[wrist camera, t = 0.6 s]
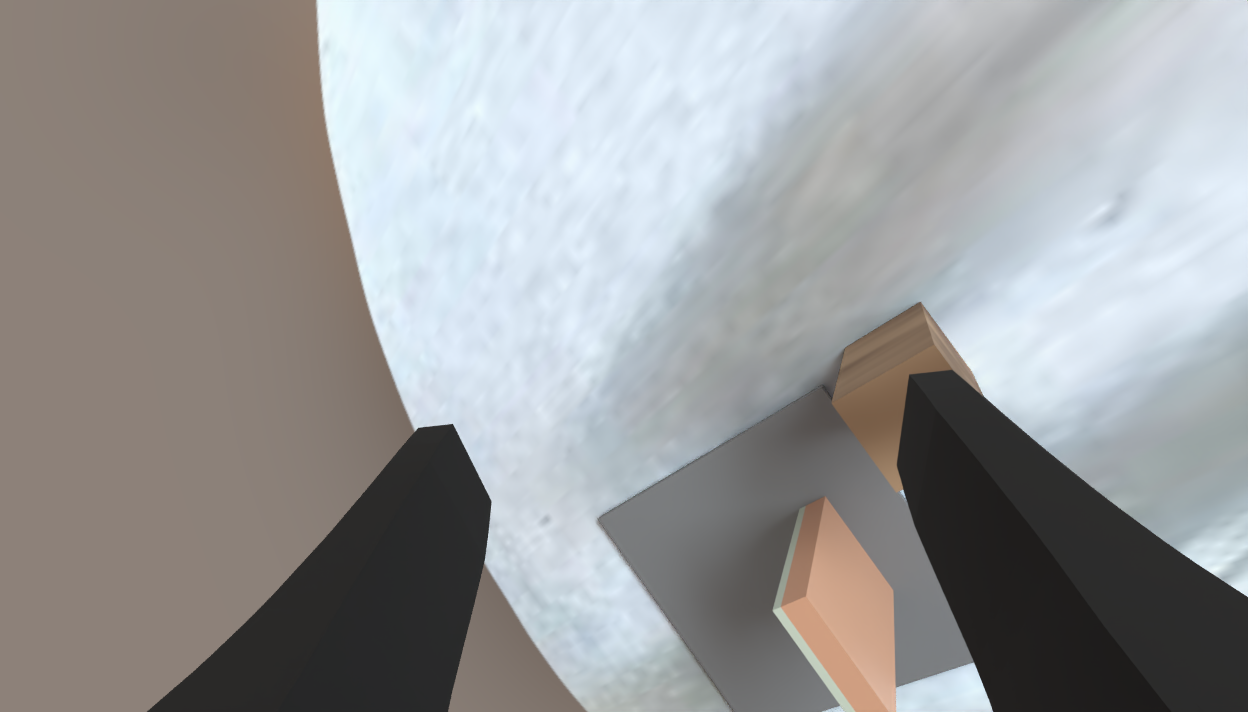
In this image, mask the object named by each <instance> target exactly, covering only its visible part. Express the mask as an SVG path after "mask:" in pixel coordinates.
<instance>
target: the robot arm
mask: <svg viewBox="0 0 1248 712" xmlns="http://www.w3.org/2000/svg"><path fill="white" fill-rule="evenodd" d="M897 469H898V472H899V476H900V479H901V483H902V486H903V490H904V493H905V496H906V500H907V503H908V506H909V510H910V513H911V516H912V519H913V522H914V526H915V528H916V531H917V533H918V535H919V538H920V540H921V542H922V545H923V547H924V549H925V552H926V554H927V556H928V559H929V561H930V563H931V565H932V568H933V570H934V572H935V575H936V577H937V579H938V582H939V584H940V586H941V588H942V591H943V593H944V595H945V597H946V600H947V602H948V604H949V607H950V609H951V611H952V613H953V616H954V618H955V620H956V622H957V625H958V627H959V629H960V632H961V634H962V636H963V638H964V641H965V643H966V645H967V647H968V650H969V652H970V654H971V657H972V659H973V661H974V663H975V666H976V668H977V670H978V673H979V676H980V678H981V681H982V683H983V686H984V688H985V691H986V693H987V696H988V698H989V701H990V704H991V707H992V710H993V712H1248V597H1247V596H1245V595H1244V594H1242V593H1241V592H1239V591H1238V590H1236V589H1234V588H1233V587H1231V586H1230V585H1228V584H1227V583H1225V582H1224V581H1222V580H1221V579H1219V578H1218V577H1216V576H1215V575H1213V574H1212V573H1210V572H1208V571H1207V570H1205V569H1204V568H1202V567H1201V566H1199V565H1198V564H1196V563H1195V562H1193V561H1192V560H1190V559H1189V558H1188V557H1186V556H1185V555H1183V554H1182V553H1180V552H1179V551H1177V550H1176V549H1174V548H1173V547H1172V546H1170V545H1169V544H1167V543H1166V542H1165V541H1163V540H1162V539H1160V538H1159V537H1158V536H1156V535H1155V534H1153V533H1152V532H1151V531H1149V530H1148V529H1147V528H1145V527H1144V526H1143V525H1141V524H1140V523H1139V522H1137V521H1136V520H1134V519H1133V518H1132V517H1130V516H1129V515H1128V514H1126V513H1125V512H1124V511H1122V510H1121V509H1120V508H1118V507H1117V506H1116V505H1114V504H1113V503H1112V502H1110V501H1109V500H1108V499H1107V498H1105V497H1104V496H1103V495H1101V494H1100V493H1099V492H1097V491H1096V490H1095V489H1094V488H1092V487H1091V486H1090V485H1089V484H1087V483H1086V482H1085V481H1084V480H1082V479H1081V478H1080V477H1079V476H1077V475H1076V474H1075V473H1074V472H1072V471H1071V470H1070V469H1069V468H1067V467H1066V466H1065V465H1064V464H1063V463H1061V462H1060V461H1059V460H1058V459H1056V458H1055V457H1054V456H1053V455H1051V454H1050V453H1049V452H1048V451H1046V450H1045V449H1044V448H1043V447H1042V446H1040V445H1039V444H1038V443H1037V442H1036V441H1035V440H1033V439H1032V438H1031V437H1030V436H1029V435H1027V434H1026V433H1025V432H1024V431H1023V430H1022V429H1020V428H1019V427H1018V426H1017V425H1016V424H1015V423H1013V422H1012V421H1011V420H1010V419H1009V418H1008V417H1006V416H1005V415H1004V414H1003V413H1002V412H1001V411H1000V410H998V409H997V408H996V407H995V406H994V405H993V404H992V403H990V402H989V401H988V400H987V399H986V398H985V397H984V396H982V395H981V394H980V393H979V392H978V391H977V390H976V389H974V388H973V387H972V386H971V385H970V384H969V383H968V382H966V381H965V380H964V379H963V378H962V377H961V376H959V375H958V374H957V373H956V372H955V371H953V370H945V371H936V372H927V373H917V374H909V379H908V386H907V393H906V400H905V408H904V415H903V422H902V429H901V436H900V443H899V451H898V458H897ZM490 512H491V500H490V498H489V495H488V493H487V491H486V489H485V487H484V485H483V483H482V481H481V479H480V477H479V475H478V473H477V471H476V469H475V467H474V465H473V463H472V461H471V459H470V457H469V455H468V453H467V451H466V449H465V447H464V445H463V443H462V441H461V439H460V437H459V435H458V433H457V431H456V429H455V427H454V425H453V424H449V425H440V426H431V427H422V428H418V429H417V430H416V431H415V432H414V434H413V435H412V436H411V437H410V438H409V439H408V440H407V442H406V443H405V444H404V445H403V446H402V448H401V449H400V450H399V451H398V452H397V453H396V455H395V456H394V457H393V458H392V460H391V461H390V462H389V463H388V464H387V465H386V467H385V468H384V469H383V470H382V471H381V473H380V474H379V475H378V476H377V478H376V479H375V480H374V481H373V482H372V484H371V485H370V486H369V487H368V488H367V490H366V491H365V492H364V493H363V494H362V496H361V497H360V498H359V499H358V500H357V501H356V503H355V504H354V505H353V506H352V507H351V509H350V510H349V511H348V512H347V513H346V514H345V515H344V517H343V518H342V519H341V520H340V521H339V523H338V524H337V525H336V526H335V527H334V529H333V530H332V531H331V532H330V533H329V534H328V535H327V537H326V538H325V539H324V540H323V541H322V542H321V543H320V544H319V545H318V546H317V548H316V549H315V550H314V551H313V552H312V553H311V554H310V555H309V556H308V557H307V558H306V559H305V561H304V562H303V563H302V564H301V565H300V566H299V567H298V568H297V569H296V570H295V571H294V573H293V574H292V575H291V576H290V577H289V578H288V579H287V580H286V581H285V582H284V583H283V585H282V586H281V587H280V588H279V589H278V590H277V591H276V592H275V593H274V594H273V595H272V596H271V598H269V599H268V600H267V602H265V604H264V605H263V606H262V607H261V608H260V609H259V610H258V611H257V612H256V613H255V614H254V615H253V616H252V617H251V618H250V619H249V620H248V621H247V622H246V623H245V624H244V625H243V626H242V627H240V629H238V631H236V632H235V633H234V634H233V635H232V636H231V637H230V638H229V639H228V640H227V641H226V642H225V643H224V644H223V645H222V646H220V647H219V648H218V649H217V651H215V652H214V653H213V654H212V655H211V656H210V657H209V658H208V659H207V660H206V661H205V662H203V663H202V664H201V665H200V666H199V667H198V668H197V669H196V670H195V671H194V672H193V673H191V674H190V675H189V676H188V677H187V678H185V679H184V680H183V681H182V682H181V683H180V684H179V685H177V686H176V687H175V688H174V689H173V690H172V691H170V692H169V693H168V694H167V695H166V696H165V697H163V699H161V700H160V701H159V702H158V703H157V704H155V705H154V706H153V707H152V708H151V709H150V710H149V711H147V712H448V709H449V704H450V699H451V694H452V690H453V686H454V682H455V678H456V674H457V670H458V666H459V662H460V658H461V654H462V650H463V646H464V642H465V638H466V634H467V630H468V626H469V623H470V619H471V614H472V611H473V607H474V603H475V598H476V594H477V590H478V586H479V582H480V578H481V574H482V569H483V565H484V561H485V554H486V547H487V539H488V531H489V521H490Z"/></svg>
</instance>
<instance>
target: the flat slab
mask: <svg viewBox="0 0 1248 712" xmlns="http://www.w3.org/2000/svg"><path fill="white" fill-rule="evenodd" d="M772 611H773V612H774V613H775V615H776V616H777V618H778V619H779V620H780V622H781V623H782V625H783V626H784V627H785V629H786V630H787V632H788V633H789V634H790V636H791V637H792V639H793V640H794V641H795V643H796V644H797V646H798V647H799V648H800V650H801V651H802V653H803V654H804V655H805V657H806V658H807V660H808V661H809V662H810V664H811V665H812V667H813V668H814V669H815V671H816V672H817V674H818V675H819V676H820V678H821V679H822V681H823V682H824V683H825V685H826V686H827V688H828V689H829V690H830V692H831V693H832V695H833V696H834V697H835V699H836V700H837V702H838V703H839V704H840V706H841V707H842V709H843V710H844V711H845V712H896V683H895V639H894V595H893V589H892V588H891V586H890V585H889V584H888V582H887V581H886V579H885V578H884V577H883V575H882V574H881V572H880V571H879V570H878V568H877V567H876V566H875V564H874V563H873V561H872V560H871V559H870V557H869V556H868V554H867V553H866V552H865V550H864V549H863V548H862V546H861V545H860V543H859V542H858V541H857V539H856V538H855V536H854V535H853V534H852V532H851V531H850V530H849V528H848V527H847V525H846V524H845V523H844V521H843V520H842V518H841V517H840V516H839V514H838V513H837V512H836V510H835V509H834V507H833V506H832V505H831V503H830V502H829V500H828V499H827V498H826V496H824V497H822V498H820V499H818V500H816V501H814V502H812V503H810V504H808V505H806V506H804V507H802V508H800V509H799V513H798V516H797V520H796V524H795V528H794V531H793V535H792V539H791V543H790V546H789V550H788V554H787V558H786V561H785V565H784V569H783V573H782V577H781V580H780V584H779V588H778V592H777V595H776V599H775V603H774V607H773V610H772Z"/></svg>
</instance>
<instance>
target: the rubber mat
mask: <svg viewBox="0 0 1248 712" xmlns="http://www.w3.org/2000/svg"><path fill="white" fill-rule="evenodd" d="M824 496H826V498H827V499H828V500H829V502H830V503H831V505H832V506H833V507H834V509H835V510H836V512H837V513H838V514H839V516H840V517H841V518H842V520H843V521H844V523H845V524H846V525H847V527H848V528H849V530H850V531H851V532H852V534H853V535H854V536H855V538H856V539H857V541H858V542H859V543H860V545H861V546H862V548H863V549H864V550H865V552H866V553H867V554H868V556H869V557H870V559H871V560H872V561H873V563H874V564H875V566H876V567H877V568H878V570H879V571H880V572H881V574H882V575H883V577H884V578H885V579H886V581H887V582H888V584H889V585H890V586H891V588H892V589H893V595H894V639H895V683H896V687H899V686H902V685H905V684H908V683H911V682H914V681H917V680H920V679H923V678H926V677H929V676H932V675H936V674H939V673H942V672H945V671H948V670H951V669H954V668H957V667H960V666H963V665H966V664H969V663H973V662H974V661H973V659H972V657H971V654H970V652H969V650H968V647H967V645H966V643H965V641H964V638H963V636H962V634H961V632H960V629H959V627H958V625H957V622H956V620H955V618H954V616H953V613H952V611H951V609H950V607H949V604H948V602H947V600H946V597H945V595H944V593H943V591H942V588H941V586H940V584H939V582H938V579H937V577H936V575H935V572H934V570H933V568H932V565H931V563H930V561H929V559H928V556H927V554H926V552H925V549H924V547H923V545H922V542H921V540H920V538H919V535H918V533H917V531H916V528H915V526H914V522H913V519H912V516H911V513H910V510H909V506H908V503H907V501H906V500H905V498H904V497H903V495H902V494H901V493H900V491H899V492H897V493H896V492H895V490H894V489H893V487H892V486H891V485H890V483H889V482H888V481H887V479H886V478H885V476H884V475H883V474H882V472H881V471H880V470H879V468H878V467H877V465H876V464H875V463H874V461H873V460H872V459H871V457H870V456H869V454H868V453H867V452H866V450H865V449H864V448H863V446H862V445H861V443H860V442H859V441H858V439H857V438H856V437H855V435H854V434H853V432H852V431H851V430H850V428H849V427H848V426H847V424H846V423H845V421H844V420H843V419H842V417H841V416H840V414H839V413H838V412H837V410H836V409H835V408H834V406H833V405H832V398H831V396H830V395H829V394H828V392H827V391H826V389H825V388H824V387H823V385H821V386H820V387H818V388H816V389H815V390H813V391H811V392H810V393H808V394H806V395H805V396H803V397H801V398H800V399H798V400H796V401H794V402H793V403H791V404H789V405H788V406H786V407H784V408H783V409H781V410H779V411H778V412H776V413H774V414H773V415H771V416H769V417H767V418H766V419H764V420H762V421H761V422H759V423H757V424H756V425H754V426H752V427H751V428H749V429H747V430H746V431H744V432H742V433H740V434H739V435H737V436H735V437H734V438H732V439H730V440H729V441H727V442H725V443H724V444H722V445H720V446H719V447H717V448H715V449H714V450H712V451H710V452H708V453H707V454H705V455H703V456H702V457H700V458H698V459H697V460H695V461H693V462H692V463H690V464H688V465H687V466H685V467H683V468H681V469H680V470H678V471H676V472H675V473H673V474H671V475H670V476H668V477H666V478H665V479H663V480H661V481H660V482H658V483H656V484H655V485H653V486H651V487H649V488H648V489H646V490H644V491H643V492H641V493H639V494H638V495H636V496H634V497H633V498H631V499H629V500H628V501H626V502H624V503H622V504H621V505H619V506H617V507H616V508H614V509H612V510H611V511H609V512H607V513H606V514H604V515H602V516H601V517H600V518H599V519H598V520H599V522H600V523H601V524H602V526H603V527H604V529H605V530H606V531H607V533H608V534H609V536H610V537H611V539H612V540H613V541H614V543H615V544H616V546H617V547H618V548H619V550H620V551H621V553H622V554H623V555H624V557H625V558H626V560H627V561H628V562H629V564H630V565H631V567H632V568H633V570H634V571H635V572H636V574H637V575H638V577H639V578H640V579H641V581H642V582H643V584H644V585H645V586H646V588H647V589H648V591H649V592H650V594H651V595H652V596H653V598H654V599H655V601H656V602H657V603H658V605H659V606H660V608H661V609H662V610H663V612H664V613H665V615H666V616H667V618H668V619H669V620H670V622H671V623H672V625H673V626H674V627H675V629H676V630H677V632H678V633H679V634H680V636H681V637H682V639H683V640H684V641H685V643H686V644H687V646H688V647H689V649H690V650H691V651H692V653H693V654H694V656H695V657H696V658H697V660H698V661H699V663H700V664H701V665H702V667H703V668H704V670H705V671H706V673H707V674H708V675H709V677H710V678H711V680H712V681H713V682H714V684H715V685H716V687H717V688H718V689H719V691H720V692H721V694H722V695H723V696H724V698H725V699H726V701H727V702H728V704H729V705H730V706H731V708H732V709H733V711H734V712H822V711H825V710H828V709H831V708H834V707H837V706H840V704H839V703H838V702H837V700H836V699H835V697H834V696H833V695H832V693H831V692H830V690H829V689H828V688H827V686H826V685H825V683H824V682H823V681H822V679H821V678H820V676H819V675H818V674H817V672H816V671H815V669H814V668H813V667H812V665H811V664H810V662H809V661H808V660H807V658H806V657H805V655H804V654H803V653H802V651H801V650H800V648H799V647H798V646H797V644H796V643H795V641H794V640H793V639H792V637H791V636H790V634H789V633H788V632H787V630H786V629H785V627H784V626H783V625H782V623H781V622H780V620H779V619H778V618H777V616H776V615H775V613H774V612H773V611H772V610H773V607H774V603H775V599H776V595H777V592H778V588H779V584H780V580H781V577H782V573H783V569H784V565H785V561H786V558H787V554H788V550H789V546H790V543H791V539H792V535H793V531H794V528H795V524H796V520H797V516H798V513H799V509H800V508H802V507H804V506H806V505H808V504H810V503H812V502H814V501H816V500H818V499H820V498H822V497H824Z"/></svg>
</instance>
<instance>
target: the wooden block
mask: <svg viewBox="0 0 1248 712" xmlns="http://www.w3.org/2000/svg"><path fill="white" fill-rule="evenodd" d="M945 370H953V371H955V372H956V373H957V374H958V375H959V376H961V377H962V378H963V379H964V380H965V381H966V382H968V383H969V384H970V385H971V386H972V387H973V388H974V389H976V390H977V391H978V392H979V393H980V394H981V395H982V396H983V394H982V392H981V390H980V388H979V386H978V384H977V381H976V379H975V377H974V375H973V373H972V371H971V370H970V368H969V367H968V366H967V364H966V363H965V362H964V360H963V359H962V358H961V356H960V355H959V353H958V352H957V351H956V349H955V348H954V347H953V345H952V344H951V343H950V341H949V340H948V338H947V337H946V336H945V334H944V333H943V332H942V330H941V329H940V328H939V326H938V325H937V324H936V322H935V321H934V319H933V318H932V317H931V315H930V314H929V313H928V311H927V310H926V309H925V307H924V306H923V304H922V303H921V302H919V303H917V304H916V305H914V306H913V307H911V308H909V309H908V310H906V311H904V312H903V313H901V314H900V315H898V316H896V317H895V318H893V319H891V320H890V321H888V322H886V323H885V324H883V325H882V326H880V327H878V328H877V329H875V330H873V331H872V332H870V333H868V334H867V335H865V336H864V337H862V338H860V339H859V340H857V341H855V342H854V343H852V344H850V345H849V346H847V347H846V348H845V351H844V355H843V359H842V363H841V367H840V371H839V375H838V379H837V383H836V387H835V391H834V395H833V399H832V405H833V406H834V408H835V409H836V410H837V412H838V413H839V414H840V416H841V417H842V419H843V420H844V421H845V423H846V424H847V426H848V427H849V428H850V430H851V431H852V432H853V434H854V435H855V437H856V438H857V439H858V441H859V442H860V443H861V445H862V446H863V448H864V449H865V450H866V452H867V453H868V454H869V456H870V457H871V459H872V460H873V461H874V463H875V464H876V465H877V467H878V468H879V470H880V471H881V472H882V474H883V475H884V476H885V478H886V479H887V481H888V482H889V483H890V485H891V486H892V487H893V489H894V490H895V492H896V493H897V492H899V491H901V490H903V486H902V483H901V479H900V476H899V472H898V469H897V458H898V451H899V443H900V436H901V429H902V422H903V415H904V408H905V400H906V393H907V386H908V379H909V374H917V373H927V372H936V371H945Z"/></svg>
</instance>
